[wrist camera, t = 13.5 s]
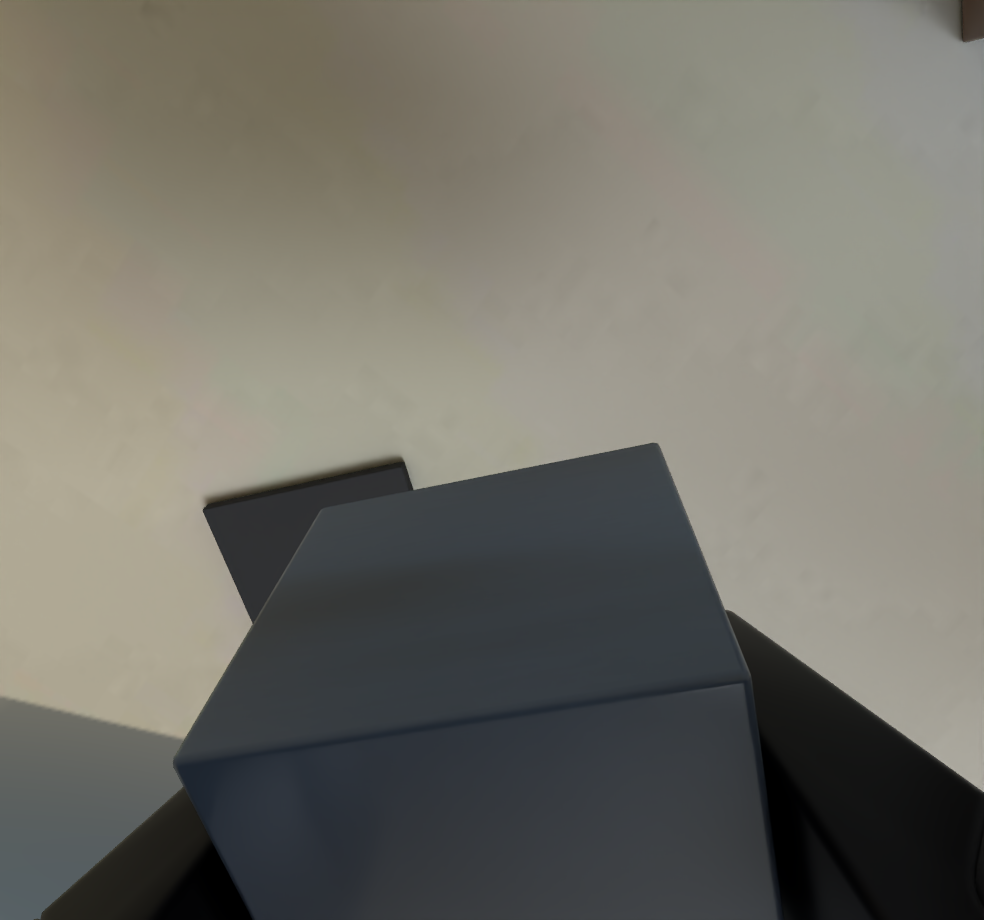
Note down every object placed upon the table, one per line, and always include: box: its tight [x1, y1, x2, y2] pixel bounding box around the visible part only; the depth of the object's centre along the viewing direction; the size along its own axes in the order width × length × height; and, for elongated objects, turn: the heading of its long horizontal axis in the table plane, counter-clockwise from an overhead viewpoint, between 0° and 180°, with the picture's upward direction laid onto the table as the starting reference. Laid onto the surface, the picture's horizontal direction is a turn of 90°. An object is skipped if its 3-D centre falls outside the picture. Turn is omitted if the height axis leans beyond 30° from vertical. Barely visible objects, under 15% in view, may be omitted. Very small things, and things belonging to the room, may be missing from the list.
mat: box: [203, 462, 413, 623], centre depth 22 cm, size 6×6×1 cm
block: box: [173, 443, 784, 920], centre depth 8 cm, size 4×4×4 cm
